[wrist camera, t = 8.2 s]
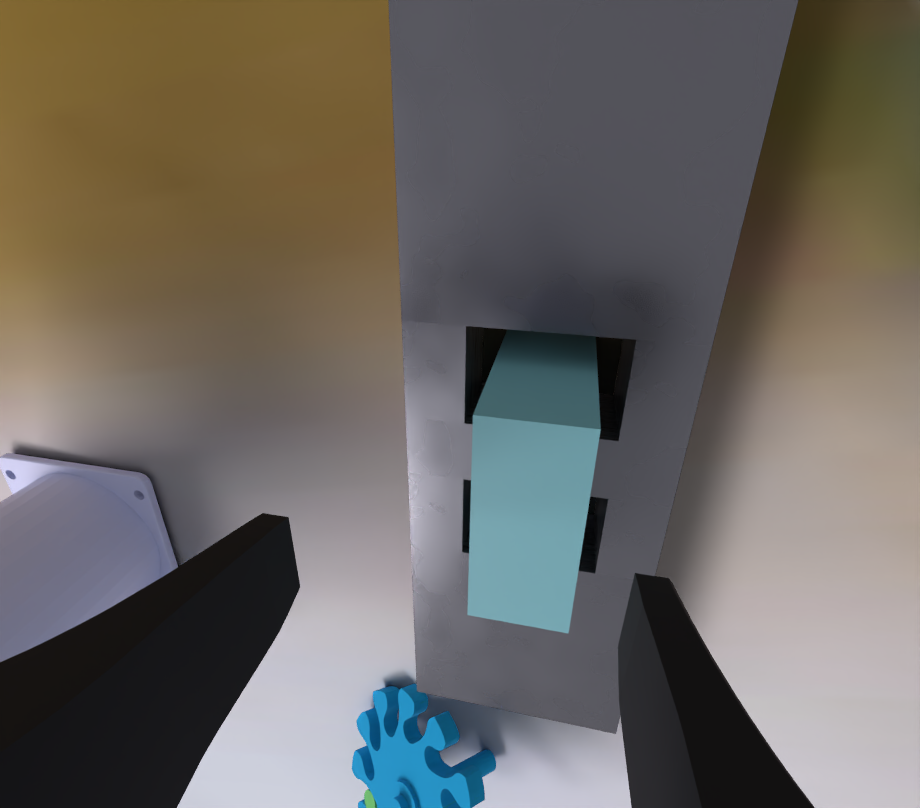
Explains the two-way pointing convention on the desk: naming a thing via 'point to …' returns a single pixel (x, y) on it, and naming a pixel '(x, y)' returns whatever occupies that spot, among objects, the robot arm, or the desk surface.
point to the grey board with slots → (565, 282)
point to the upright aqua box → (532, 478)
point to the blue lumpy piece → (414, 756)
